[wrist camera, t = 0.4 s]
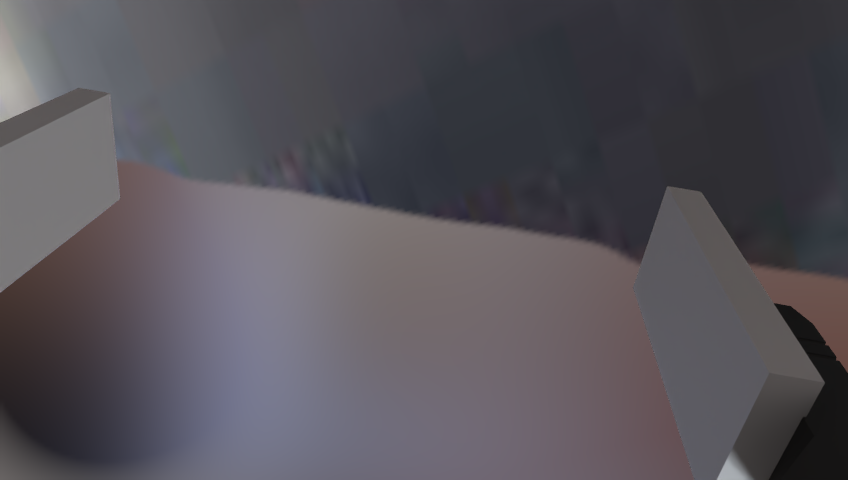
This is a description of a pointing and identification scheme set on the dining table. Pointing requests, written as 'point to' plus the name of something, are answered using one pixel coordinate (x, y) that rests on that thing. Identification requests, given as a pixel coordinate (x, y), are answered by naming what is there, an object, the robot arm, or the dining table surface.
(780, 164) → the dining table surface
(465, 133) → the dining table surface
